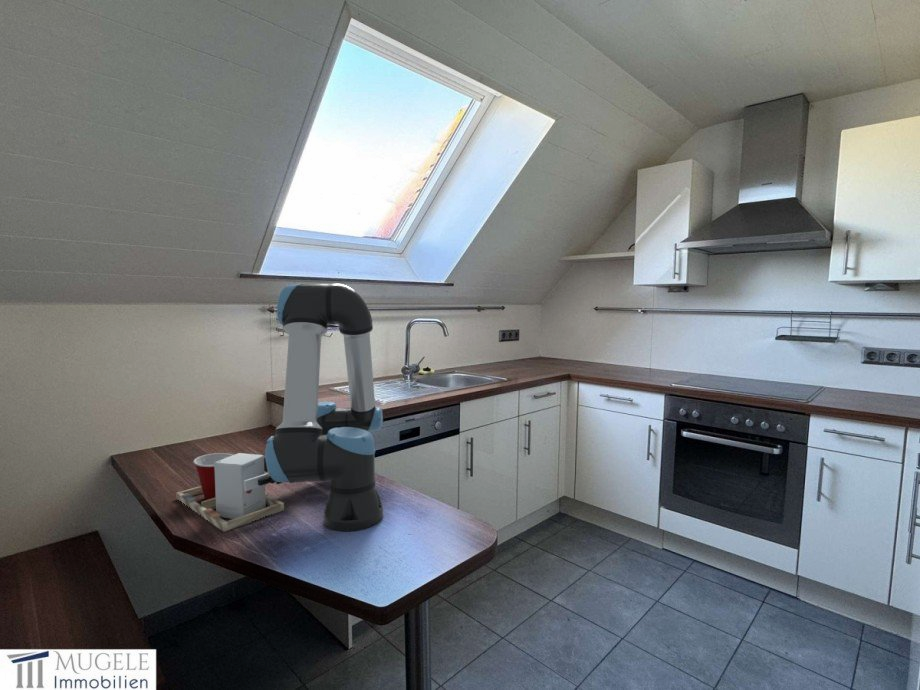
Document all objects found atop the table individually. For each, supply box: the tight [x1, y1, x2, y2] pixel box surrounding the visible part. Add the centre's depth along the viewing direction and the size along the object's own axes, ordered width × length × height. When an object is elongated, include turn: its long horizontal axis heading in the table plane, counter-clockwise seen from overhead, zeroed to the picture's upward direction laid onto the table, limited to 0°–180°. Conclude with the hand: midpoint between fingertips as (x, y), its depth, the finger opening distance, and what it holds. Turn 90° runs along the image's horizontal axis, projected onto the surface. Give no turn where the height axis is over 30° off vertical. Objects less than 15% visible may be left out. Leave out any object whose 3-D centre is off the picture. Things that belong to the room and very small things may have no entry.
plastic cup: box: [193, 452, 234, 501], centre depth 135 cm, size 11×11×12 cm
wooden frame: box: [176, 485, 285, 532], centre depth 130 cm, size 32×16×3 cm, turn 50°
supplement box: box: [214, 452, 267, 520], centre depth 125 cm, size 9×9×15 cm
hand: (230, 480), depth 123 cm, fingers open, 13 cm apart
